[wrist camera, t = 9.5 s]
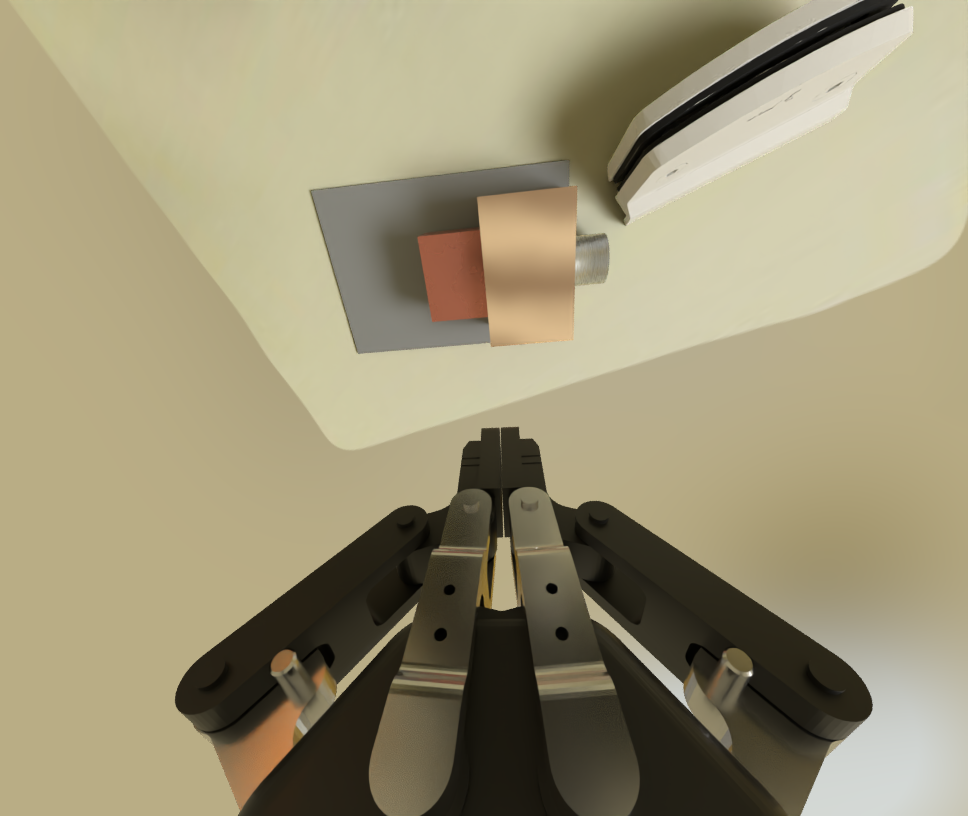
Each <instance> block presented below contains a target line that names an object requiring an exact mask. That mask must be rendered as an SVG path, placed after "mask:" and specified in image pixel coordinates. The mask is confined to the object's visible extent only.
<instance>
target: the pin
mask: <svg viewBox="0 0 968 816" xmlns="http://www.w3.org/2000/svg"><path fill="white" fill-rule="evenodd" d="M417 238H418V244H419V249H420V255H421V261H422V267H423V272H424V278H425V284H426V290H427V296H428V301H429V307H430V313H431V319H432V322H437V321H449V320H460V319H471V318H482V317H488V310H487V299H486V288H485V278H484V267H483V256H482V245H481V235H480V227H474V228H465V229H456V230H447V231H437V232H428V233H424V234H422V235H420V236H418V237H417ZM608 269H609V243H608V238H607V235H606V234H605V233H600V234H590V235H581V236H576V255H575V286H579V285H590V284H601V283H604V282H605V280H606V278H607V274H608Z"/></svg>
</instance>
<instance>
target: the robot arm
mask: <svg viewBox="0 0 968 816" xmlns="http://www.w3.org/2000/svg"><path fill="white" fill-rule="evenodd" d="M501 459H502V465H501ZM502 495H503V511H502ZM503 512H504V530H505V537H510V543H511V560H512V568H513V576H514V584H515V592H516V600H517V607H516V608H513V609H509V610H506V611H498V610H494V609H492V597H493V585H494V575H495V563H496V550H497V538H498V537H503ZM582 590H583V591H584V592H585V593H586V594H587V595H589V596H590V597H591V598H592V599H593V600H594V601H595V602H596V603H597V604H598V605H599V606H600V607H601V608H602V609H604V610H605V611H606V612H607V613H608V614H609V615H610V616H611V617H612V618H613V619H614V620H615V621H617V622H618V623H619V624H620V625H621V626H622V627H623V628H624V629H625V630H626V631H627V632H628V633H630V634H631V635H632V636H633V637H634V638H635V639H636V640H637V641H638V642H639V643H640V644H641V645H642V646H643V647H645V648H646V649H647V650H648V651H649V652H650V653H651V654H652V655H653V656H654V657H655V658H656V659H657V660H659V661H660V662H661V663H662V664H663V665H664V666H665V667H666V668H667V669H668V670H669V671H671V673H673V674H674V675H675V676H676V677H677V678H678V679H679V680H680V681H681V682H682V683H683V684H684V687H683V688H684V696H685V699H686V702H687V704H688V706H689V708H690V710H691V712H692V713H693V714H692V713H691V712H690V711H689V710H688V709H687V708H686V707H685V706H684V705H683V704H682V703H681V702H680V701H679V700H678V699H677V698H676V697H675V696H674V695H673V694H672V693H671V691H669V690H668V689H667V688H666V686H664V684H663V683H662V682H661V681H660V680H659V679H658V678H657V677H656V676H655V675H654V674H652V672H651V671H650V670H649V669H648V668H647V667H646V666H645V665H644V664H643V663H642V662H641V661H640V660H639V659H638V658H637V657H636V656H635V655H634V654H633V653H632V652H631V651H630V650H629V649H628V648H627V647H626V646H625V645H624V644H623V643H622V642H621V641H620V640H619V639H618V638H617V637H616V636H615V635H614V634H613V633H611V632H610V631H609V630H608V629H607V628H605V627H604V626H602V625H601V624H599V623H598V622H596V621H594V620H592V619H590V615H589V612H588V609H587V606H586V602H585V599H584V595H583V592H582ZM417 603H418V604H417ZM416 604H417V608H416V612H415V616H414V619H413V622H412V623H410V624H409V625H407V626H406V627H405V628H403V629H402V630H401V631H400V632H398V633H397V634H396V635H395V636H394V637H393V638H392V639H391V640H390V641H389V642H388V643H387V645H386V646H385V647H384V648H383V649H382V650H381V651H380V652H379V653H378V655H377V656H376V657H375V658H374V659H373V660H372V661H371V662H370V663H369V665H367V667H366V668H365V669H364V670H363V671H362V672H361V673H360V674H359V675H358V677H357V678H356V679H355V680H354V681H353V682H352V683H351V684H350V685H349V687H348V688H347V689H346V690H345V691H344V692H343V693H342V694H341V695H340V696H339V697H338V698H337V700H336V701H335V702H334V700H335V697H336V692H337V684H338V683H339V682H340V681H341V680H342V679H343V678H344V677H345V676H346V675H347V674H348V673H349V672H350V670H352V669H353V668H354V667H355V665H357V664H358V663H359V661H361V660H362V659H363V658H364V657H365V655H366V654H367V653H368V652H369V651H370V650H371V649H372V648H373V647H374V646H375V645H376V644H377V643H378V642H379V641H380V640H381V639H382V638H383V637H384V636H385V635H386V634H387V633H388V632H389V631H390V630H391V629H392V628H393V627H394V626H395V625H396V624H397V623H398V622H399V621H400V620H401V619H402V618H403V617H404V616H405V615H406V614H407V613H408V612H409V611H410V610H411V609H412V608H413V607H414V606H415V605H416ZM175 704H176V707H177V709H178V710H179V711H180V712H181V713H182V714H183V715H184V716H185V717H186V718H188V719H189V720H190V721H191V722H192V723H193V725H194V728H195V729H196V730H197V731H198V732H199V733H200V734H201V735H202V736H203V737H205V738H206V739H207V740H208V741H209V742H210V743H211V744H212V745H213V746H214V748H215V750H216V752H217V755H218V757H219V760H220V762H221V765H222V767H223V769H224V772H225V775H226V777H227V779H228V782H229V784H230V787H231V789H232V792H233V794H234V796H235V799H236V802H237V804H238V806H239V809H240V813H239V815H238V816H800V815H801V813H802V810H803V808H804V806H805V803H806V801H807V799H808V796H809V794H810V791H811V789H812V786H813V784H814V782H815V780H816V777H817V775H818V773H819V770H820V768H821V766H822V763H823V761H824V758H825V757H826V756H828V755H829V753H831V752H832V751H833V750H834V749H835V748H836V747H837V746H838V745H839V744H840V743H841V742H842V741H843V740H845V739H846V738H847V736H849V735H850V734H851V733H852V732H853V731H854V730H855V729H856V728H857V727H858V726H859V725H860V724H862V723H863V722H864V721H865V720H866V719H867V718H868V717H869V715H870V714H871V712H872V706H873V704H872V698H871V696H870V693H869V691H868V689H867V687H866V685H865V684H864V682H863V681H862V679H861V678H860V677H859V675H858V674H857V673H856V672H855V671H854V670H853V669H852V668H851V667H850V666H849V665H848V664H847V663H846V662H844V661H843V660H842V659H841V658H839V657H838V656H837V655H835V654H834V653H832V652H831V651H829V650H828V649H826V648H824V647H823V646H822V645H820V644H819V643H817V642H815V641H814V640H813V639H811V638H810V637H808V636H807V635H805V634H804V633H802V632H801V631H799V630H798V629H796V628H794V627H793V626H792V625H790V624H788V623H787V622H786V621H784V620H783V619H781V618H780V617H778V616H777V615H775V614H774V613H772V612H771V611H769V610H768V609H766V608H764V607H763V606H762V605H760V604H758V603H757V602H755V601H754V600H753V599H751V598H749V597H748V596H746V595H745V594H744V593H742V592H740V591H739V590H738V589H736V588H735V587H733V586H732V585H730V584H728V583H727V582H726V581H724V580H722V579H721V578H720V577H718V576H717V575H715V574H714V573H712V572H710V571H709V570H708V569H706V568H704V567H703V566H701V565H700V564H698V563H697V562H696V561H694V560H692V559H691V558H690V557H688V556H686V555H685V554H684V553H682V552H681V551H679V550H678V549H676V548H675V547H673V546H672V545H670V544H669V543H667V542H666V541H664V540H662V539H661V538H659V537H658V536H656V535H655V534H653V533H652V532H650V531H649V530H647V529H646V528H644V527H643V526H641V525H640V524H638V523H637V522H635V521H634V520H632V519H631V518H629V517H628V516H626V515H625V514H623V513H622V512H620V511H619V510H617V509H616V508H614V507H613V506H611V505H609V504H607V503H604V502H600V501H589V502H586V503H583V504H581V505H580V506H579V507H578V509H573V508H569V507H565V506H562V505H560V504H558V503H556V502H555V501H553V500H552V499H551V498H550V497H549V495H548V494H547V491H546V485H545V479H544V473H543V468H542V462H541V457H540V450H539V446H538V445H537V444H536V442H535V441H534V440H533V439H520V436H519V427H503V428H501V447H500V429H499V428H482V431H481V441H469V442H468V443H467V445H466V446H465V447H464V449H463V455H462V461H461V469H460V476H459V484H458V491H457V494H456V495H455V496H454V497H453V498H452V500H451V503H450V505H449V506H447V507H446V508H444V509H442V510H439V511H435V512H432V513H428V514H427V513H426V512H425V510H424V509H422V508H420V507H418V506H413V505H410V506H403V507H400V508H398V509H396V510H394V511H393V512H391V513H390V514H389V515H388V516H386V517H385V518H384V519H382V520H381V521H380V522H378V523H377V524H376V525H374V526H373V527H372V528H370V529H369V530H368V531H367V532H365V533H364V534H363V535H361V536H360V537H359V538H357V539H356V540H355V541H353V542H352V543H351V544H349V545H348V546H347V547H346V548H344V549H343V550H341V551H340V552H339V553H337V554H336V555H335V556H333V557H332V558H331V559H330V560H328V561H327V562H326V563H324V564H323V565H322V566H320V567H319V568H318V569H316V570H315V571H314V572H312V573H311V574H310V575H308V576H307V577H306V578H304V579H303V580H302V581H301V582H299V583H298V584H297V585H295V586H294V587H293V588H291V589H290V590H289V591H287V592H286V593H285V594H283V595H282V596H281V597H279V598H278V599H277V600H275V601H274V602H273V603H272V604H270V605H269V606H268V607H266V608H265V609H264V610H263V611H261V612H260V613H258V614H257V615H256V616H254V617H253V618H252V619H250V620H249V621H248V622H247V623H246V624H244V625H243V626H241V627H240V628H239V629H237V630H236V631H235V632H233V633H232V634H231V635H229V636H228V637H227V638H226V639H224V640H223V641H221V642H220V643H219V644H217V645H216V646H215V647H214V648H212V649H211V650H210V651H208V652H207V653H206V654H205V655H203V656H202V657H201V658H199V659H198V660H197V661H196V662H195V663H194V664H193V665H192V666H191V667H190V668H189V670H188V671H187V672H186V674H185V675H184V676H183V678H182V680H181V682H180V684H179V686H178V688H177V691H176V696H175Z"/></svg>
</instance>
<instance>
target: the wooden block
mask: <svg viewBox="0 0 968 816" xmlns="http://www.w3.org/2000/svg"><path fill="white" fill-rule="evenodd" d="M477 202H478V213H479V224H480V235H481V245H482V256H483V267H484V278H485V288H486V299H487V310H488V320H489V331H490V342H491V347H494V346H506V345H518V344H530V343H542V342H555V341H567V340H573V330H574V292H575V255H576V217H577V186H569V187H560V188H552V189H543V190H534V191H525V192H516V193H508V194H499V195H490V196H481V197H477Z"/></svg>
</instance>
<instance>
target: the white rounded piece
mask: <svg viewBox="0 0 968 816" xmlns="http://www.w3.org/2000/svg"><path fill="white" fill-rule="evenodd" d="M897 1H898V0H812V1H810V2H808V3H806V4H805V5H803V6H801V7H799V8H797V9H796V10H794V11H792V12H790V13H789V14H787V15H785V16H783V17H782V18H780V19H778V20H776V21H774V22H773V23H771V24H769V25H768V26H766V27H764V28H763V29H761V30H759V31H758V32H756V33H754V34H753V35H751V36H749V37H748V38H746V39H745V40H743V41H741V42H740V43H738V44H737V45H735V46H734V47H732V48H731V49H729V50H727V51H726V52H724V53H723V54H721V55H720V56H718V57H717V58H715V59H714V60H712V61H710V62H709V63H707V64H706V65H704V66H703V67H701V68H700V69H699V70H697V71H696V72H694V73H693V74H691V75H690V76H688V77H687V78H685V79H684V80H682V81H681V82H680V83H678V84H677V85H675V86H674V87H673V88H671V89H670V90H668V91H667V92H666V93H664V94H663V95H662V96H660V97H659V98H657V99H656V100H655V101H653V102H652V103H651V104H649V105H648V106H646V107H645V108H644V109H642V110H641V111H640V112H639V113H638V114H637V115H636V116H635V117H634V118H633V120H632V122H631V123H630V125H629V127H628V129H627V131H626V132H625V134H624V136H623V138H622V140H621V142H620V143H619V145H618V147H617V149H616V151H615V152H614V154H613V156H612V158H611V160H610V161H609V163H608V165H607V172H608V179H609V182H610V181H612V180H614V183H615V184H616V183H617V182H619V181H621V180H623V179H624V180H623V181H622V183H621V184H620V186H619V187H618V189H617V190H618V194H617V195H616V196H615V198H616V200H617V202H618V203H619V205H620V206H621V208H622V210H623V211H624V213H625V214H626V217H625V219H624V220H623V221H624V223H625V225H628V224H630V223H632V222H634V221H636V220H638V219H640V218H642V217H644V216H646V215H648V214H650V213H652V212H654V211H656V210H658V209H660V208H662V207H664V206H666V205H668V204H670V203H671V202H673V201H675V200H677V199H679V198H681V197H683V196H685V195H687V194H689V193H691V192H693V191H695V190H697V189H699V188H701V187H703V186H705V185H707V184H709V183H711V182H713V181H715V180H717V179H719V178H721V177H723V176H725V175H727V174H729V173H730V172H732V171H734V170H736V169H738V168H740V167H742V166H744V165H746V164H748V163H750V162H752V161H754V160H756V159H758V158H760V157H762V156H764V155H766V154H768V153H770V152H772V151H774V150H776V149H778V148H780V147H782V146H784V145H786V144H788V143H790V142H791V141H793V140H795V139H797V138H799V137H801V136H803V135H805V134H807V133H809V132H811V131H813V130H815V129H817V128H819V127H821V126H823V125H825V124H827V123H829V122H830V121H832V120H833V119H834V118H836V117H837V116H838V115H840V114H841V113H842V112H844V111H845V110H846V109H847V107H848V104H849V100H850V97H851V93H852V89H853V87H854V85H855V84H856V83H857V82H858V81H859V80H860V79H862V78H863V77H864V76H865V75H866V74H867V73H868V72H869V71H871V70H872V69H873V68H874V67H875V66H876V65H877V64H879V63H880V62H881V61H882V60H883V59H884V58H885V57H887V56H888V55H889V54H890V53H891V52H892V51H893V50H895V49H896V48H897V47H898V46H899V45H900V44H901V43H902V42H904V41H905V40H906V39H907V38H908V37H909V36H910V35H911V34H912V33H913V7H912V6H910V7H907V8H905V6H904V4H899V5H896V6H894V7H892V6H893V5H894V4H895V3H896V2H897ZM891 7H892V8H891Z"/></svg>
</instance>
